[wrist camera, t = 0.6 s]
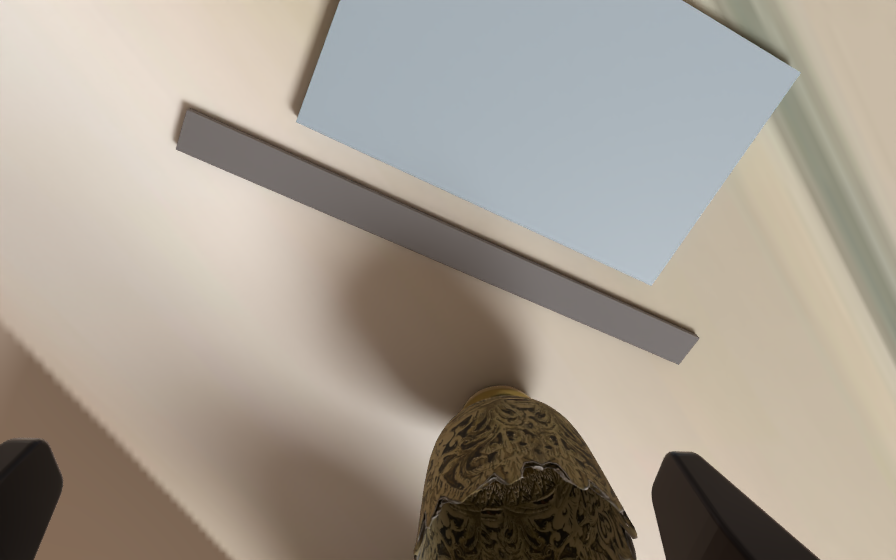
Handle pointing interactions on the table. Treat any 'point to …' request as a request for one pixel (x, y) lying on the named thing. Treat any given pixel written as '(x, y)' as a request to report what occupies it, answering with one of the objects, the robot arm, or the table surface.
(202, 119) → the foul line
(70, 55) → the table surface
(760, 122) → the board
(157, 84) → the table surface
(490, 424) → the cup
